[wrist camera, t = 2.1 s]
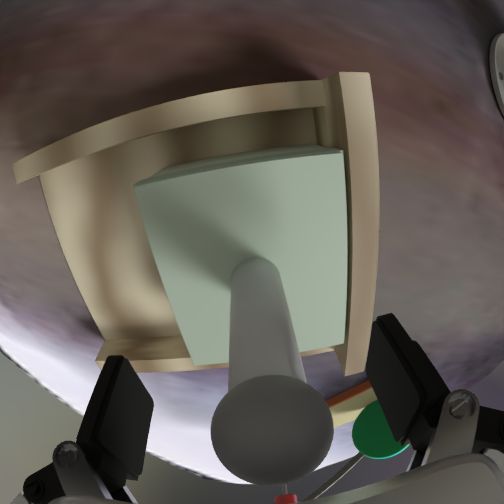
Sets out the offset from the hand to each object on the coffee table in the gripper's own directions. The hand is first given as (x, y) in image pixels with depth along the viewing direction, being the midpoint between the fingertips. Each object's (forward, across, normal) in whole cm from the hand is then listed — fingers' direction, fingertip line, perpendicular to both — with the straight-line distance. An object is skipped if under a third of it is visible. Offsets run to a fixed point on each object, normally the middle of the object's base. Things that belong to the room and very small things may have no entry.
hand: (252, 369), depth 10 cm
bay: (+13, +4, 0) cm, 14 cm away
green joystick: (+12, -1, 0) cm, 12 cm away
